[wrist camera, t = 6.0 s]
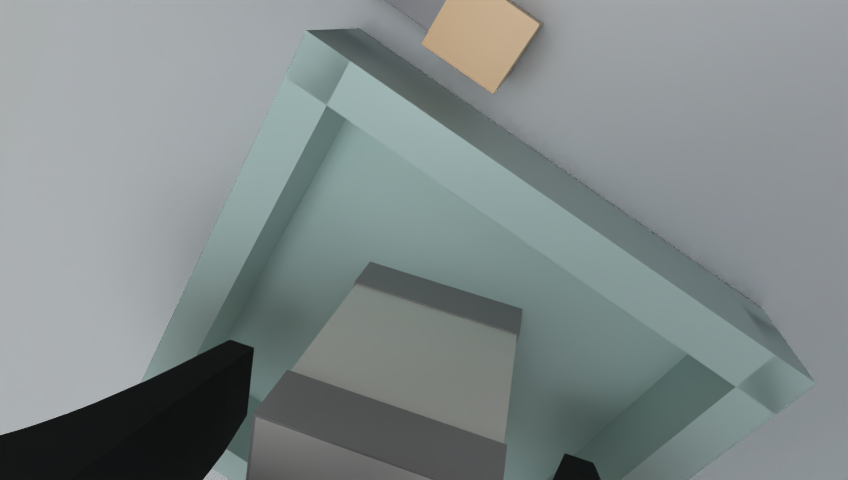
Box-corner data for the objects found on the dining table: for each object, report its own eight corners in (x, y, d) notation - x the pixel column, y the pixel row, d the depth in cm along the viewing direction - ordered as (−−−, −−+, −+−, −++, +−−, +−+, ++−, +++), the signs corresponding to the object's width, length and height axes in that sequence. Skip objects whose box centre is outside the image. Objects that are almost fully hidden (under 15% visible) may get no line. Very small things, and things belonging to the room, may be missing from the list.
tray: (762, 309, 13) (816, 383, 10) (485, 548, 18) (473, 639, 16) (358, 28, 13) (305, 30, 10) (191, 352, 18) (127, 411, 15)
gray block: (522, 308, 14) (501, 501, 8) (480, 428, 15) (438, 653, 10) (370, 261, 14) (253, 413, 9) (345, 382, 16) (235, 573, 10)
